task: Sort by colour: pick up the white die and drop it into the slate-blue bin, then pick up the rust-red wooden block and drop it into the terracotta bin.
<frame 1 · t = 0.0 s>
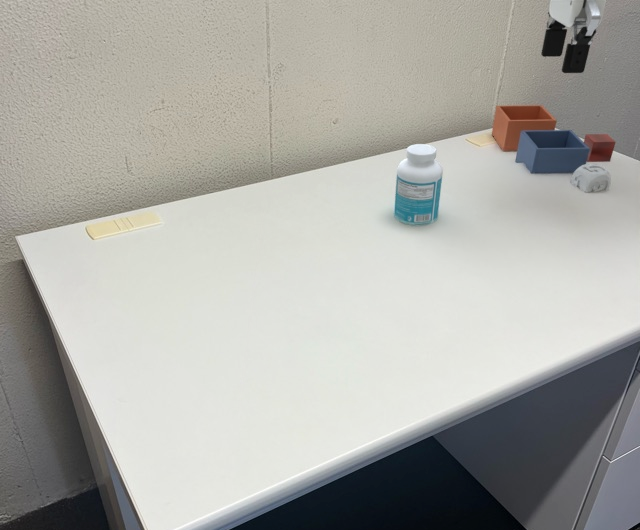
hand: (561, 63, 95), 25 cm above the table, tool pointing down, fingers open, 9 cm apart
blue bin: (547, 171, 123), on the table
pill bottle: (414, 225, 105), on the table
red block: (594, 158, 128), on the table
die: (586, 195, 114), on the table
terracotta bin: (519, 142, 136), on the table
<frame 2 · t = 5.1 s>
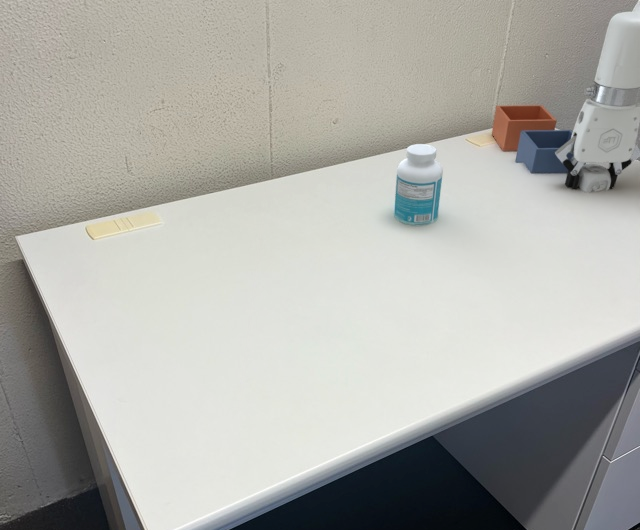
hand: (587, 191, 114), 1 cm above the table, tool pointing down, fingers closed on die, 5 cm apart
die: (586, 195, 114), on the table, touching gripper
everything else where it was.
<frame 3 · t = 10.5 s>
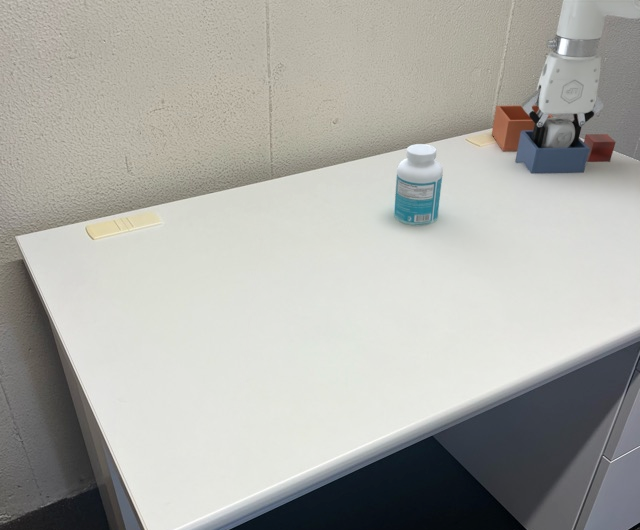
hand: (553, 143, 120), 6 cm above the table, tool pointing down, fingers closed on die, 5 cm apart
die: (553, 147, 120), point 5 cm above the table, touching gripper
everything else where it was.
when the fingers open (5 cm above the table, at t = 34.8 s): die stays where it is, resting on blue bin.
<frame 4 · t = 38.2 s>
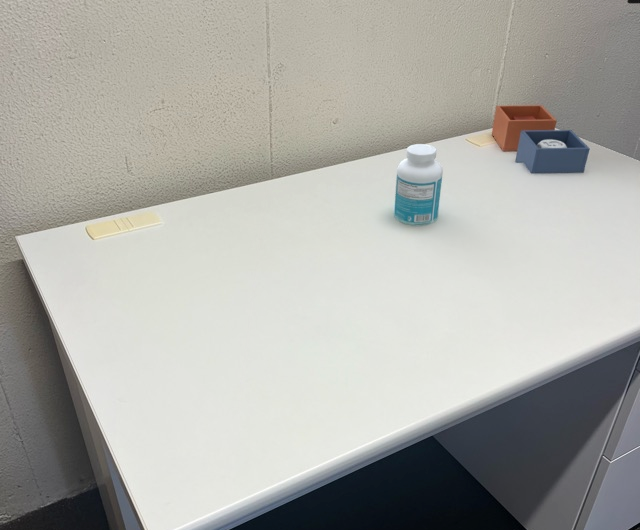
red block: (522, 140, 135), point 1 cm above the table, touching terracotta bin
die: (546, 168, 123), resting on blue bin
everything else where it was.
at the end: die inside the target area in the blue bin (0.2 cm from its centre), point 0.4 cm above the blue bin's base; red block inside the target area in the terracotta bin (0.4 cm from its centre), point 0.6 cm above the terracotta bin's base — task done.
